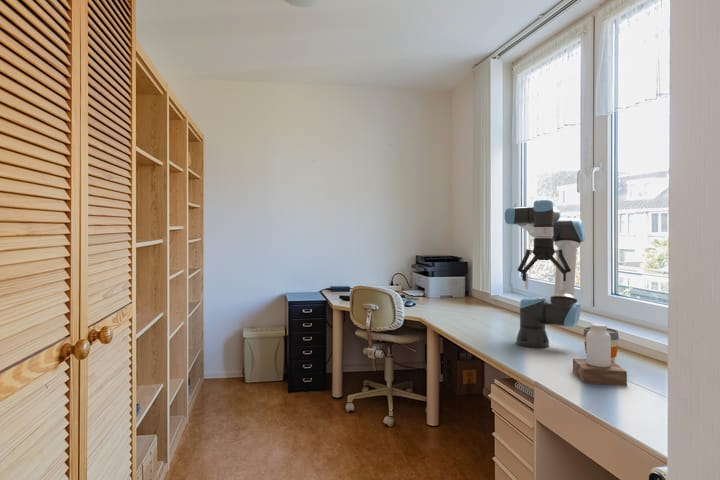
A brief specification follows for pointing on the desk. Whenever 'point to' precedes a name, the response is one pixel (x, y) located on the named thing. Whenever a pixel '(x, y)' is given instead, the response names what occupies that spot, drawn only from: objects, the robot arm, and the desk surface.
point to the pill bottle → (598, 346)
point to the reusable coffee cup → (614, 340)
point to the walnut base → (599, 373)
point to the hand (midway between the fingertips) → (543, 289)
